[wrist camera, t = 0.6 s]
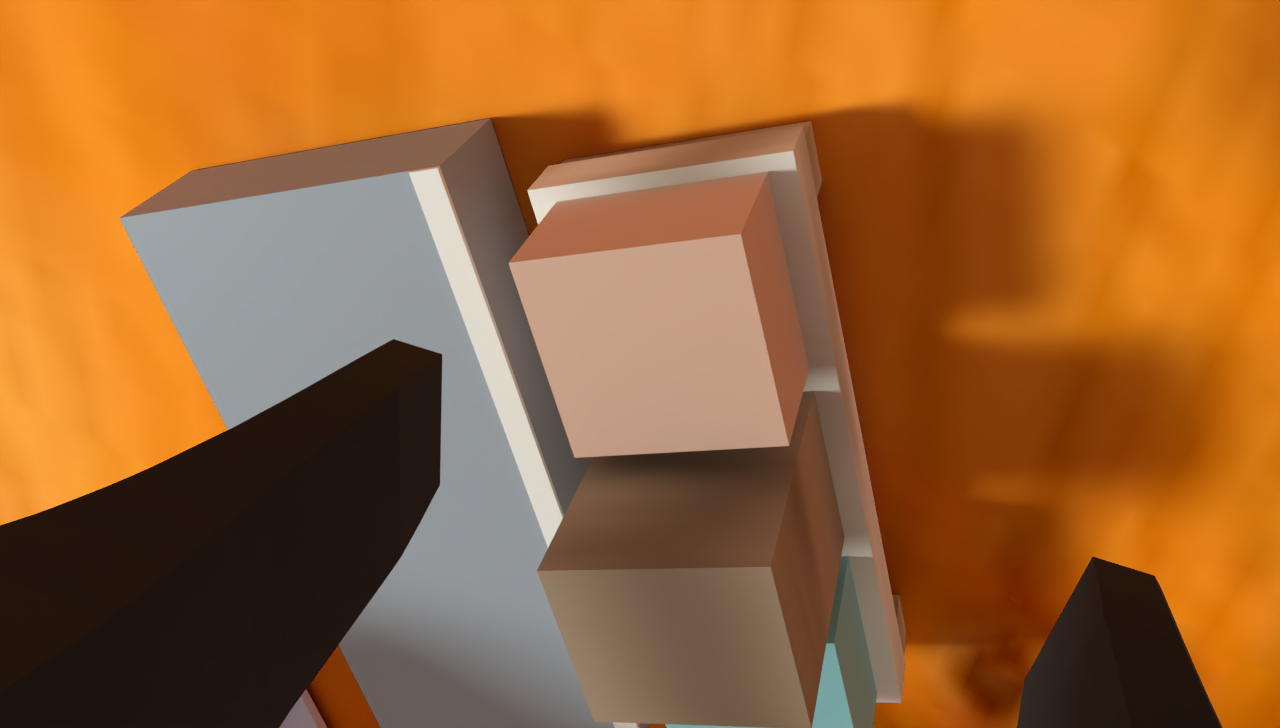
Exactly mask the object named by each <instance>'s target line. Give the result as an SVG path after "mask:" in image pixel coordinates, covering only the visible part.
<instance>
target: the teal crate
mask: <svg viewBox="0 0 1280 728" xmlns="http://www.w3.org/2000/svg"><path fill="white" fill-rule="evenodd" d="M876 698H877V690H876V685H875V680H874V676H873V671H872V666H871V661H870V657H869V652H868V647H867V642H866V637H865V633H864V628H863V623H862V618H861V614H860V609H859V604H858V599H857V595H856V590H855V585H854V580H853V575H852V571H851V566H850V561H849V556H841V561H840V567H839V572H838V578H837V584H836V590H835V596H834V602H833V608H832V613H831V619H830V625H829V631H828V637H827V643H826V648H825V654H824V660H823V666H822V672H821V678H820V684H819V689H818V695H817V701H816V707H815V713H814V719H813V724H812V728H873V725H874V716H875V707H876ZM665 725H666V728H763V727H734V726H705V725H676V724H665Z"/></svg>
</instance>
